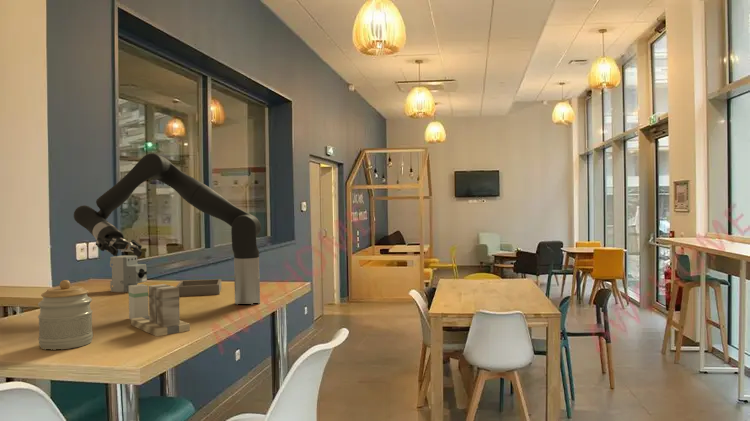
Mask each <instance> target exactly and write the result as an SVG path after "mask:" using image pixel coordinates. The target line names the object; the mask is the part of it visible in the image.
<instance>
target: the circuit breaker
mask: <svg viewBox="0 0 750 421" xmlns="http://www.w3.org/2000/svg"><path fill="white" fill-rule="evenodd" d="M109 259H110V261H109V268H111V280H110V282H109V286H110V293H112V292H113V293H128V292H129V286H130V285H139V284H140V283H141V284H142V283H144V282H148V278H147V277H148V275H147V274H148V270H147V264H146V263H144V264H143V263H138V257H137V256H136V255H117V256H110V257H109Z"/></svg>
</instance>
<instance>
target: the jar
mask: <svg viewBox="0 0 750 421" xmlns="http://www.w3.org/2000/svg"><path fill="white" fill-rule="evenodd" d="M88 293H89V290H88V289H86V288H84V287H83V286H78V285H77V286H76V285H75V286H74V285H72V286H71V282H70V281H69V279H64V280H61V281H60V283H59V287H58V286H57V287H52V288H48V289H46V290H45V291H44V292H43V293H41V295H40V296H41V297H42V299H41V300H40V301H39V302H38V303H37V306H38V307H39V314H38V315H37V318H38V331H39V332H38V334H39V336H38V345H39V348H40V347H41V348H40V349H42V348H43V349H42V350H46V349H51V350H50V351H57V350H56V349H61V350H67V349H69V350H70V349H74V348H80V347H84V346H87V345H89V344H90V343H92V342H93V337H94V332H93V309H91V302H92V301H93V298H92V297H90V296H88ZM52 349H53V350H52Z"/></svg>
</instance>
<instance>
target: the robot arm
mask: <svg viewBox="0 0 750 421" xmlns="http://www.w3.org/2000/svg"><path fill="white" fill-rule="evenodd" d="M149 179H154V180H156V181H159V182H161V183H162V184H165V185H167V187H170V188H172V189H173V190H174V192H175V191H176V193H177V194H178V195H179V196H180V197H181V198H182V199H183V200H184V201H185V202H187V203H188V204H190V205H191V206H192V207H194V208H195V209H197V210H199V211H201V212H202V213H204V214H206V215H208V216H211V217H214V218H216V219H218V220H221V221H223V222H224V223H226V224H228V225H229V226H230V227H231V229H230V230H231V231H230V232H231V233H230V235H231V248H232V252H233V263H234V266H233V267H234V268H233V269H234V270H233V271H234V304H235V305H238V304H251V305H254V304H253V303H258V304H261V284H260V283H261V280H260V250H259V248H258V245H257V236H258V235H260V233H261V231H262V224H261V222H260V220H259V219H258V217H256V216H255V215H254V214H250V213H249V212H247V211H245V210H243V209H241V208H239V207H237V206H236V205H234V204H233V203H231V202H230V201H229V200H227V199H226V198H225V197H223V195H221V194H220V193H218V192H217V191H215V190H214V189H213V188H211V187H210V186H208V185H206V184H205V183H203V182H202V181H200V180H198V179H196V178H195V177H192V176H190V175H189V174H186V173H185V172H183V171H182V170H180V169H179V168H178V167H176V165H174V164H173V163H172V162H171V161H170V160H169V159H168V158H166V157H164V156H162V155H160V154H157V153H154V152H153V153H151V152H150V153H147V154H146V155H144V156H143V157H142V158H140V159H139V161H138V162H137V163H136V164H135V165H134V166H133V167H132V168H131V170H129V171H128V172H127V174H126V175H124V176H123V178H121V179H120V180H119V181H118V182H117V183H116V184H115V185H113V186H111V188H109V189H108V190H107V191H105V192H104V193H103V194H102V195H100V196H99V197H98V198H97V199H96V202H95V203H96V206H97V208H99V211H97V210H95V209H93V208H92V207H91V206H89V205H80V206H78V207H76V208H75V209H74V212H73V219H74V221H75V222H76V223H77V224H79V225H80V226H82V228H84V229H85V230H87V231H88V232H89V233H90V234H91V236H93V237H94V239H95V240H96V241H95V246H96V247H97V248H98V249H99V251H102V252H104V251H106V252H107V253H109V254H111V255H112V256H113V257H115V256H118V253H119V250H120V251H121V250H122V251H125V252H127V253H128V252H131V253H133V254H134V256H137V258H140V257H141V256H142V253H143V251H142V248H143V246H142V244H140V243H139V242H138V241H136V240H134V239H131V241H129V240H127V239H125V237H124V234H123V233H122V231H121V230H119V229H118V228H117V226H115V225H113V224H112V223H110V222H109V221H108V220H107V219H108V218H109V217H110V215H111V214H112V213H113V212H114V211H115V210H116V209H118V208H119V207H120V206H122V205H123V204H124V203H125V202H126V201H127V200H128V199H129V198H130V197H131V195H132V194H133V193H134V191H135V190H136V189H137V188H138V187H139V186H140V185H141V184H143V183H145V182H146V181H148V180H149Z"/></svg>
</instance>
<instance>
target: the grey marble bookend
mask: <svg viewBox="0 0 750 421" xmlns="http://www.w3.org/2000/svg"><path fill="white" fill-rule="evenodd" d="M148 311H149V316H146V317H139V318H132V319H130V326H132V327H135V328H137V329H139V330H141V331H143V332H146V333H148V334H150V335H152V336H155V337H161V336H165V335H167V336H168V335H171V334H177V333H183V332H184V333H185V332H189V331H190V330H191V328H190V327H191V324H190V323H189V322H186V321H183V320H180V318H181V317H180V315H181V314H180V313H181V312H180V296H179V288H178V287H176V286H173V285H169V284H165V283H162V284H152V285H148Z"/></svg>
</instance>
